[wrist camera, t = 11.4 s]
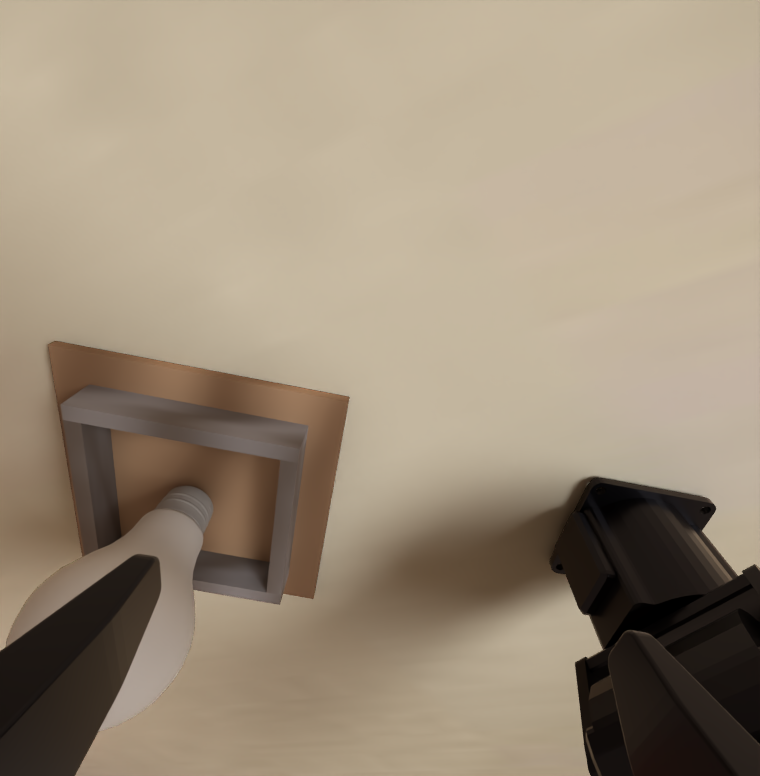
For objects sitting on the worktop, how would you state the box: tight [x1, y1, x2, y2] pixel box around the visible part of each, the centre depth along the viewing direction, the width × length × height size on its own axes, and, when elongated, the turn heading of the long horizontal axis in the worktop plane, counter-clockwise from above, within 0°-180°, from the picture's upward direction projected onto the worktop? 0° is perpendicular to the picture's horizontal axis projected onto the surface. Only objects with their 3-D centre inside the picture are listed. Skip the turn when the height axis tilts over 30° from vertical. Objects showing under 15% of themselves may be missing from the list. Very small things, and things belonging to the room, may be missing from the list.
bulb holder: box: [48, 341, 349, 605], centre depth 23 cm, size 14×14×2 cm
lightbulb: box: [6, 486, 214, 732], centre depth 19 cm, size 6×6×11 cm
